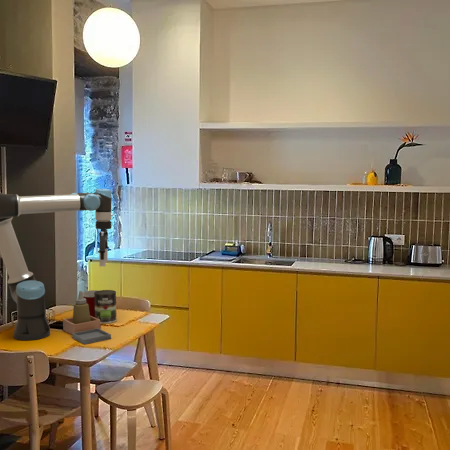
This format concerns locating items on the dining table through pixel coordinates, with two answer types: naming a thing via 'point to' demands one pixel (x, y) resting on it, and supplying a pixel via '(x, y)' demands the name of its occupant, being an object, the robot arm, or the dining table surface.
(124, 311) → the dining table surface
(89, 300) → the plastic cup
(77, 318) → the squeeze bottle
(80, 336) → the tray
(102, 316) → the coffee can
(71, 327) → the box
